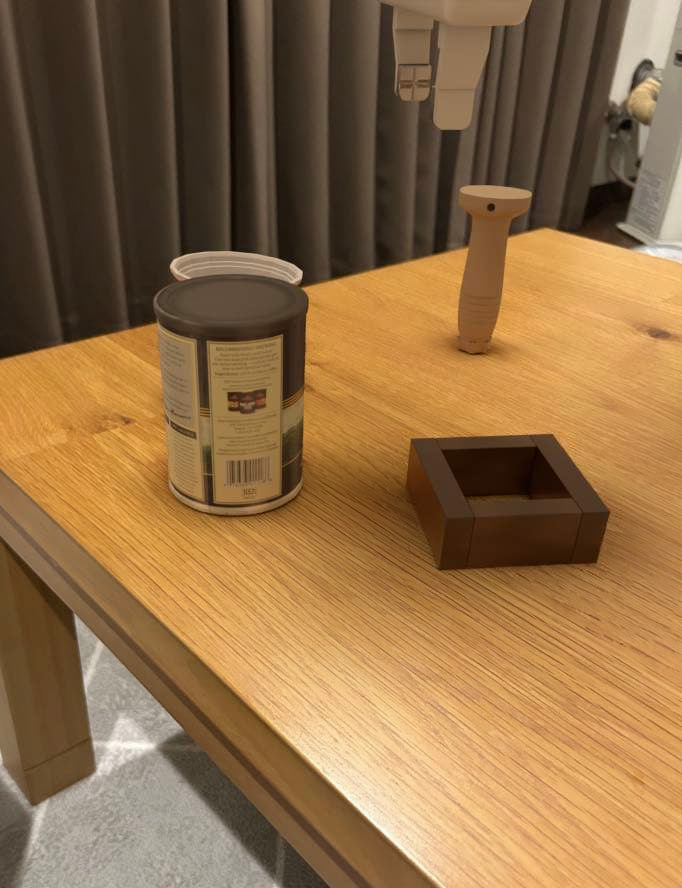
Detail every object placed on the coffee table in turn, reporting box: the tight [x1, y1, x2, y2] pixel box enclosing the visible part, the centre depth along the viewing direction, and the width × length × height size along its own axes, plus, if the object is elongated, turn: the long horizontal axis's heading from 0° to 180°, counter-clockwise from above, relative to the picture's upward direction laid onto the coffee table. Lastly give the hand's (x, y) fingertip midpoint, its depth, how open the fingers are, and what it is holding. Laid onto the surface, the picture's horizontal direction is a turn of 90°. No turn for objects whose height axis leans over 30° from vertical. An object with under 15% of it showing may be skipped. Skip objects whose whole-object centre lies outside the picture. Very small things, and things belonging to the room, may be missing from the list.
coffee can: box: [153, 274, 310, 517], centre depth 61 cm, size 10×10×14 cm
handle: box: [456, 184, 533, 355], centre depth 83 cm, size 5×6×15 cm
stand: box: [405, 433, 611, 570], centre depth 60 cm, size 11×11×4 cm
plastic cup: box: [169, 250, 303, 286], centre depth 73 cm, size 11×11×12 cm
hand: (428, 112), depth 47 cm, fingers open, 8 cm apart
